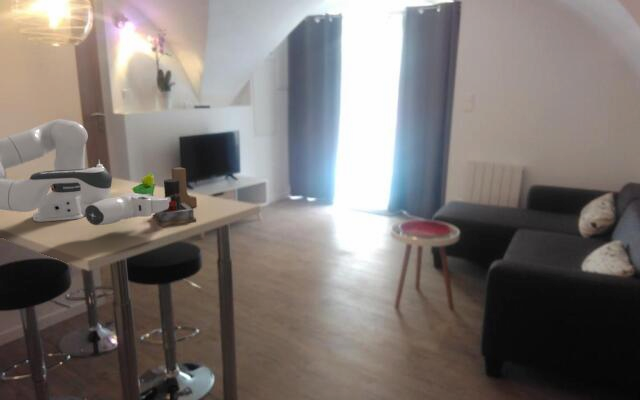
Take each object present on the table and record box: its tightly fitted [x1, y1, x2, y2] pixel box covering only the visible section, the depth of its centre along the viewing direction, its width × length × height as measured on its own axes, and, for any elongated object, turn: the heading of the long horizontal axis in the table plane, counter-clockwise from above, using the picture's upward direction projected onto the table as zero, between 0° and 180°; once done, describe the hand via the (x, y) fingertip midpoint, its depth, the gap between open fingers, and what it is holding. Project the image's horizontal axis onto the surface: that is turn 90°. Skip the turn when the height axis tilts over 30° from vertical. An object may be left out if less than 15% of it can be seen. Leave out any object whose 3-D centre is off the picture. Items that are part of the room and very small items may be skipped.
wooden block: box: [171, 166, 198, 209], centre depth 207 cm, size 9×4×18 cm, turn 134°
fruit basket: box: [131, 172, 156, 195], centre depth 227 cm, size 11×9×11 cm
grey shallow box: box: [152, 203, 197, 227], centre depth 191 cm, size 14×14×5 cm
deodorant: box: [163, 178, 181, 212], centre depth 189 cm, size 6×6×15 cm
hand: (160, 197), depth 183 cm, fingers open, 8 cm apart
